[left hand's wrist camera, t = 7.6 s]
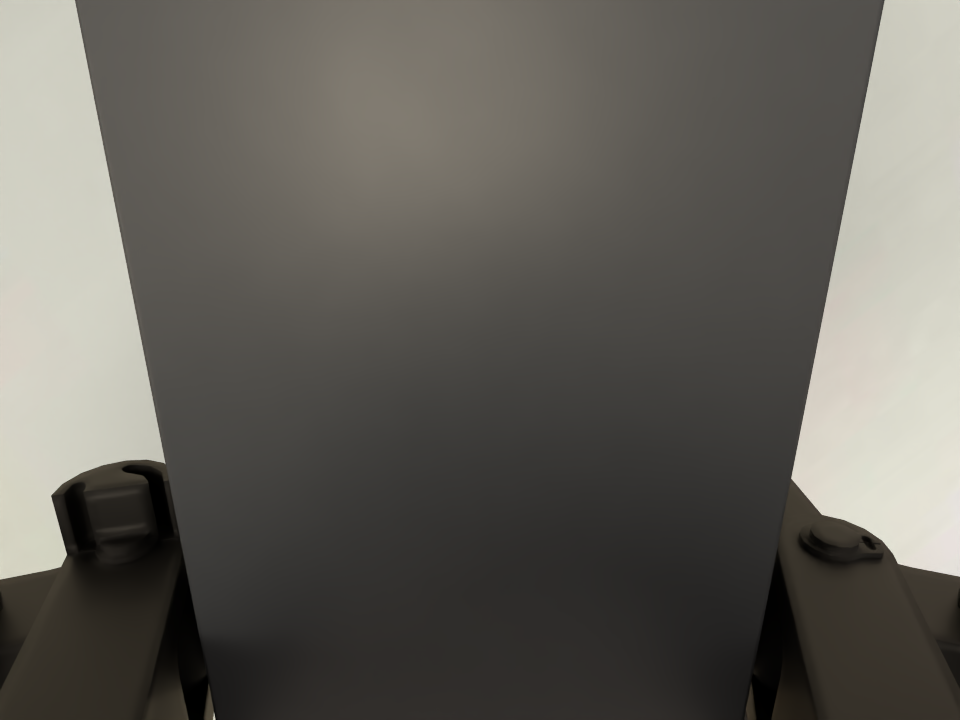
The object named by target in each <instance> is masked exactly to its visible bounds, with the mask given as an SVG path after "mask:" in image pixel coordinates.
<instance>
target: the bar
mask: <svg viewBox="0 0 960 720" xmlns="http://www.w3.org/2000/svg"><path fill="white" fill-rule="evenodd" d="M75 2H76V7H77V12H78V17H79V22H80V28H81V33H82V38H83V43H84V48H85V53H86V58H87V63H88V69H89V74H90V79H91V84H92V89H93V94H94V99H95V104H96V109H97V115H98V120H99V125H100V130H101V135H102V140H103V145H104V150H105V156H106V161H107V166H108V171H109V176H110V181H111V186H112V191H113V197H114V202H115V207H116V212H117V217H118V222H119V227H120V232H121V237H122V243H123V248H124V253H125V258H126V263H127V268H128V273H129V278H130V284H131V289H132V294H133V299H134V304H135V309H136V314H137V319H138V324H139V330H140V335H141V340H142V345H143V350H144V355H145V360H146V365H147V371H148V376H149V381H150V386H151V391H152V396H153V401H154V406H155V412H156V417H157V422H158V427H159V432H160V437H161V442H162V447H163V452H164V458H165V463H166V468H167V473H168V478H169V483H170V488H171V493H172V499H173V504H174V509H175V514H176V519H177V524H178V529H179V534H180V539H181V545H182V550H183V555H184V560H185V565H186V570H187V575H188V580H189V586H190V591H191V596H192V601H193V606H194V611H195V616H196V621H197V627H198V632H199V637H200V642H201V647H202V652H203V657H204V662H205V667H206V673H207V678H208V683H209V688H210V693H211V698H212V703H213V708H214V714H215V719H216V720H744V717H745V711H746V706H747V701H748V696H749V691H750V686H751V681H752V676H753V670H754V665H755V660H756V655H757V650H758V645H759V640H760V635H761V630H762V624H763V619H764V614H765V609H766V604H767V599H768V594H769V589H770V583H771V578H772V573H773V568H774V563H775V558H776V553H777V548H778V542H779V537H780V532H781V527H782V522H783V517H784V512H785V507H786V502H787V496H788V491H789V486H790V481H791V476H792V471H793V466H794V461H795V455H796V450H797V445H798V440H799V435H800V430H801V425H802V420H803V415H804V409H805V404H806V399H807V394H808V389H809V384H810V379H811V374H812V368H813V363H814V358H815V353H816V348H817V343H818V338H819V333H820V327H821V322H822V317H823V312H824V307H825V302H826V297H827V292H828V287H829V281H830V276H831V271H832V266H833V261H834V256H835V251H836V246H837V240H838V235H839V230H840V225H841V220H842V215H843V210H844V205H845V200H846V194H847V189H848V184H849V179H850V174H851V169H852V164H853V159H854V153H855V148H856V143H857V138H858V133H859V128H860V123H861V118H862V112H863V107H864V102H865V97H866V92H867V87H868V82H869V77H870V72H871V66H872V61H873V56H874V51H875V46H876V41H877V36H878V31H879V25H880V20H881V15H882V10H883V5H884V0H75Z"/></svg>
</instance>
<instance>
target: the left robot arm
mask: <svg viewBox="0 0 960 720" xmlns="http://www.w3.org/2000/svg"><path fill="white" fill-rule="evenodd" d="M51 497H52V500H53V504H54V508H55V511H56V515H57V519H58V523H59V526H60V530H61V534H62V537H63V541H64V545H65V548H66V552H67V556H66V558H65V560H64V562H63V564H62V567H60V568H56V569H52V570H48V571H43V572H37V573H32V574H27V575H22V576H17V577H12V578H7V579H2V580H0V720H213V715H214V708H213V703H212V698H211V693H210V688H209V683H208V678H207V673H206V667H205V662H204V657H203V652H202V647H201V642H200V637H199V632H198V627H197V621H196V616H195V611H194V606H193V601H192V596H191V591H190V586H189V580H188V575H187V570H186V565H185V560H184V555H183V550H182V545H181V539H180V534H179V529H178V524H177V519H176V514H175V509H174V504H173V499H172V493H171V488H170V483H169V478H168V473H167V468H166V464H164V463H161V462H156V461H150V460H130V461H122V462H117V463H112V464H107V465H103V466H100V467H97V468H95V469H92V470H89V471H86V472H83V473H81V474H79V475H77V476H76V477H74V478H72V479H70V480H69V481H67V482H65V483H64V484H62V485H61V486H60V487H59V488H58V489H57V490H56V491H55V492H54V493H53V494H52V495H51ZM744 720H960V577H958V576H953V575H948V574H943V573H938V572H932V571H927V570H922V569H917V568H912V567H908V566H904V565H900V564H898V563H897V561H896V559H895V557H894V555H893V554H892V552H891V551H890V550H889V549H888V547H887V546H886V545H885V544H884V542H883V541H882V540H880V539H879V538H877V537H876V536H874V535H873V534H871V533H870V532H868V531H867V530H865V529H863V528H861V527H859V526H856V525H854V524H852V523H849V522H847V521H845V520H841V519H837V518H832V517H828V516H824V515H821V513H820V512H819V511H818V510H817V509H816V508H815V506H814V505H813V504H812V503H811V502H810V500H809V499H808V498H807V497H806V496H805V495H804V493H803V492H802V491H801V490H800V489H799V487H798V486H797V485H796V484H795V483H794V482H793V480H792V479H791V481H790V486H789V491H788V496H787V502H786V507H785V512H784V517H783V522H782V527H781V532H780V537H779V542H778V548H777V553H776V558H775V563H774V568H773V573H772V578H771V583H770V589H769V594H768V599H767V604H766V609H765V614H764V619H763V624H762V630H761V635H760V640H759V645H758V650H757V655H756V660H755V665H754V670H753V676H752V681H751V686H750V691H749V696H748V701H747V706H746V711H745V717H744Z"/></svg>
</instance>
